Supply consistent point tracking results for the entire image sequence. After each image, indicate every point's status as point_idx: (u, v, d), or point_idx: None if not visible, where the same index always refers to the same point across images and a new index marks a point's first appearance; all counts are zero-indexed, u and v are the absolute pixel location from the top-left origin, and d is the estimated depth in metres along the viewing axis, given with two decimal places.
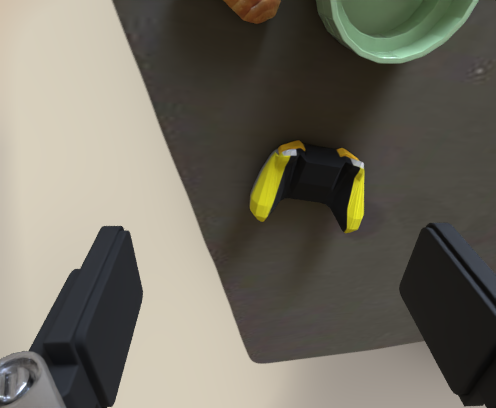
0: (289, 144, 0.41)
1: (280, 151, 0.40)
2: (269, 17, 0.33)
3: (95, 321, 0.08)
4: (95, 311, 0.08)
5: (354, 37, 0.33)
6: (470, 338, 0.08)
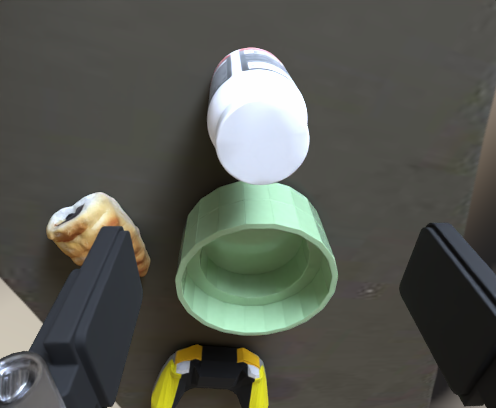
0: (186, 351, 0.41)
1: (175, 361, 0.40)
2: (140, 276, 0.33)
3: (95, 321, 0.08)
4: (95, 311, 0.08)
5: (226, 296, 0.33)
6: (470, 338, 0.08)
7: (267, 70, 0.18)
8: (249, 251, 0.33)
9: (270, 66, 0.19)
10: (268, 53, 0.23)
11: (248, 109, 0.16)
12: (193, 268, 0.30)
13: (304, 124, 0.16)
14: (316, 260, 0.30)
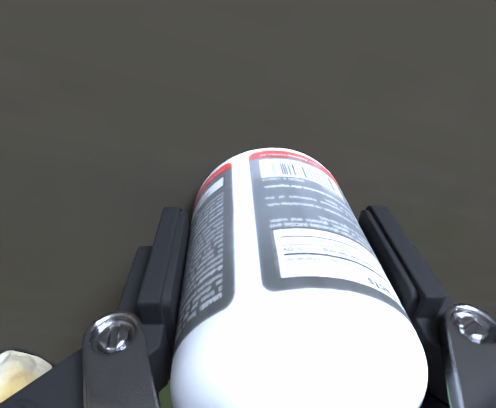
0: None
1: None
2: None
3: (174, 287, 0.08)
4: (174, 278, 0.08)
5: None
6: None
7: (334, 293, 0.06)
8: None
9: (333, 251, 0.07)
10: (308, 164, 0.11)
11: None
12: None
13: None
14: None
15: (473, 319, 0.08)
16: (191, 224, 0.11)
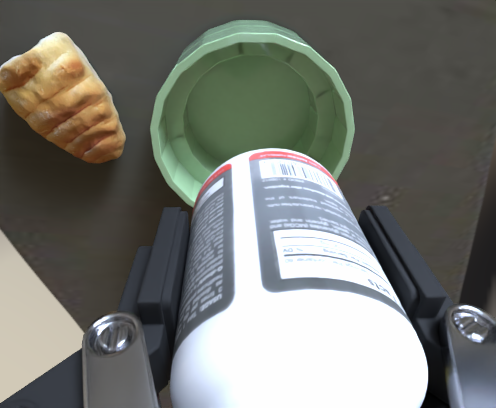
0: None
1: None
2: (113, 158, 0.27)
3: (174, 287, 0.08)
4: (174, 278, 0.08)
5: None
6: None
7: (335, 294, 0.06)
8: (244, 132, 0.28)
9: (333, 252, 0.07)
10: (308, 164, 0.11)
11: None
12: (175, 137, 0.25)
13: None
14: (326, 129, 0.25)
15: (473, 319, 0.08)
16: (191, 225, 0.11)
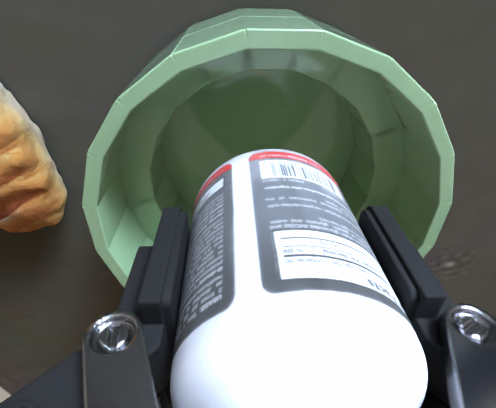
0: None
1: None
2: (48, 225, 0.18)
3: (174, 287, 0.08)
4: (174, 278, 0.08)
5: None
6: None
7: (334, 295, 0.06)
8: None
9: (333, 253, 0.07)
10: (308, 165, 0.11)
11: None
12: (140, 201, 0.15)
13: None
14: (386, 187, 0.15)
15: (473, 319, 0.08)
16: (191, 225, 0.11)
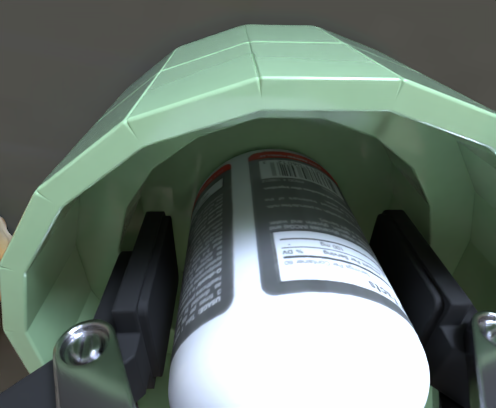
0: None
1: None
2: None
3: (152, 295, 0.08)
4: (152, 285, 0.08)
5: None
6: (413, 315, 0.09)
7: (335, 297, 0.06)
8: None
9: (334, 254, 0.07)
10: (309, 165, 0.11)
11: None
12: None
13: None
14: None
15: None
16: (190, 226, 0.11)
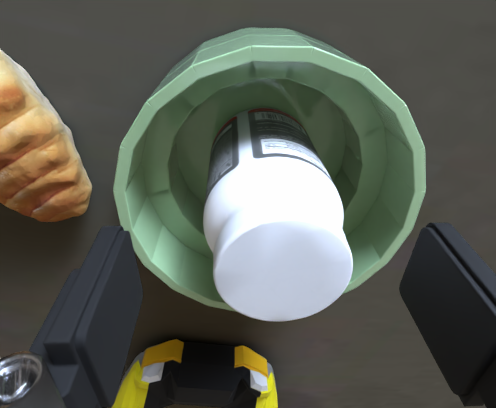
0: (159, 349, 0.28)
1: (143, 363, 0.27)
2: (75, 215, 0.20)
3: (95, 321, 0.08)
4: (95, 311, 0.08)
5: None
6: (470, 338, 0.08)
7: (289, 158, 0.12)
8: None
9: (292, 147, 0.13)
10: (286, 116, 0.17)
11: (263, 233, 0.10)
12: (157, 192, 0.17)
13: (347, 250, 0.11)
14: (373, 181, 0.17)
15: None
16: (210, 155, 0.17)
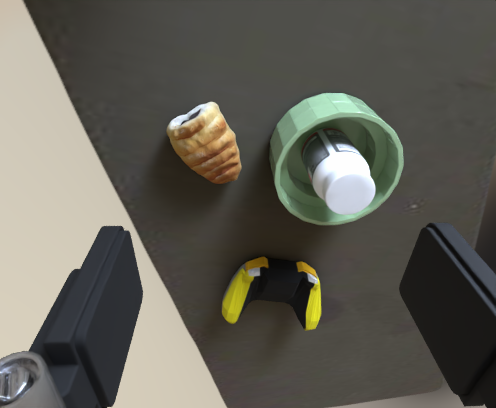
0: (255, 261, 0.48)
1: (246, 268, 0.47)
2: (231, 180, 0.40)
3: (95, 321, 0.08)
4: (95, 311, 0.08)
5: (302, 197, 0.40)
6: (470, 338, 0.08)
7: (350, 152, 0.32)
8: None
9: (349, 147, 0.33)
10: (340, 132, 0.37)
11: (345, 177, 0.30)
12: (281, 167, 0.37)
13: (373, 184, 0.31)
14: (380, 162, 0.37)
15: None
16: (305, 150, 0.37)
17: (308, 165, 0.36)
